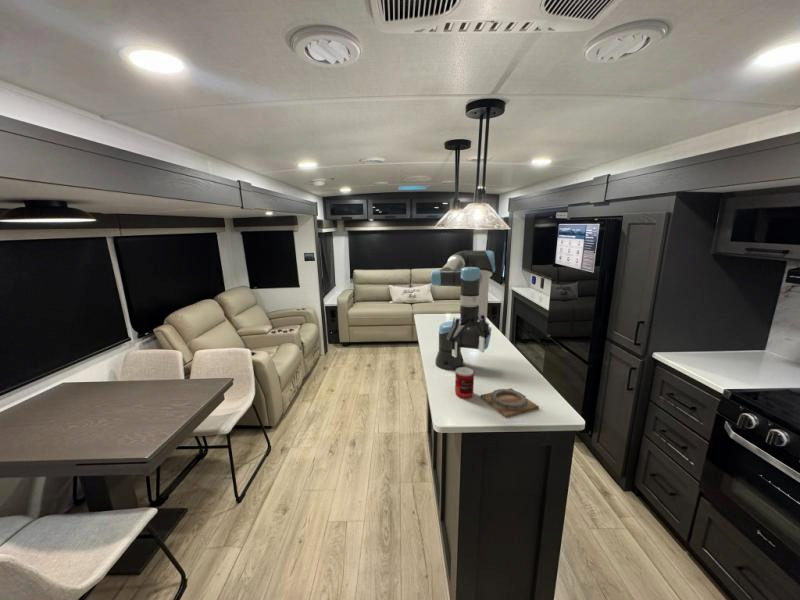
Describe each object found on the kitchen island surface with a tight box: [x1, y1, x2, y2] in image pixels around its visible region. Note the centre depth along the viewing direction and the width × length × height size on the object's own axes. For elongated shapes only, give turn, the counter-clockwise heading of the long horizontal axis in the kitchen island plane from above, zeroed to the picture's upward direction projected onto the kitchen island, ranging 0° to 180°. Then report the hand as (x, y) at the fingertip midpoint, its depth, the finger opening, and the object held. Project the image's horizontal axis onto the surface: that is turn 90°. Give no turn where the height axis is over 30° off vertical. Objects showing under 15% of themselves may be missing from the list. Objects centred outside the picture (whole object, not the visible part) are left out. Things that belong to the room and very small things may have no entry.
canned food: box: [454, 366, 475, 399], centre depth 130 cm, size 8×8×11 cm
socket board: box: [480, 387, 540, 419], centre depth 123 cm, size 16×16×3 cm
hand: (468, 353), depth 128 cm, fingers open, 13 cm apart
